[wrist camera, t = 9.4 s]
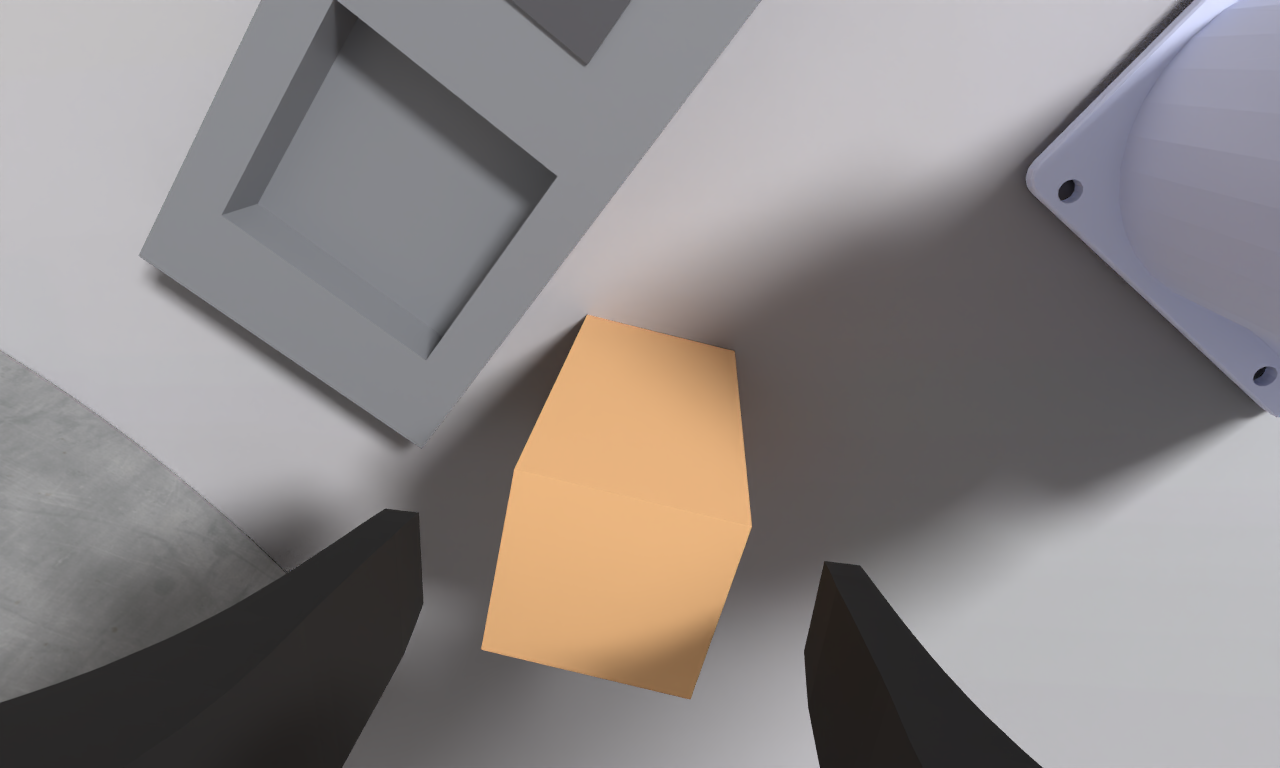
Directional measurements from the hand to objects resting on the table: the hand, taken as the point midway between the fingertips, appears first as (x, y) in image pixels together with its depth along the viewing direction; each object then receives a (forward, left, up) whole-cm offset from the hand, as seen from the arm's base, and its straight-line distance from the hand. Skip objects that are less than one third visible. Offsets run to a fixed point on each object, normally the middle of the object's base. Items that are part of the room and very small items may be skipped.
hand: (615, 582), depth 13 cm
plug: (0, 0, -8) cm, 8 cm away
